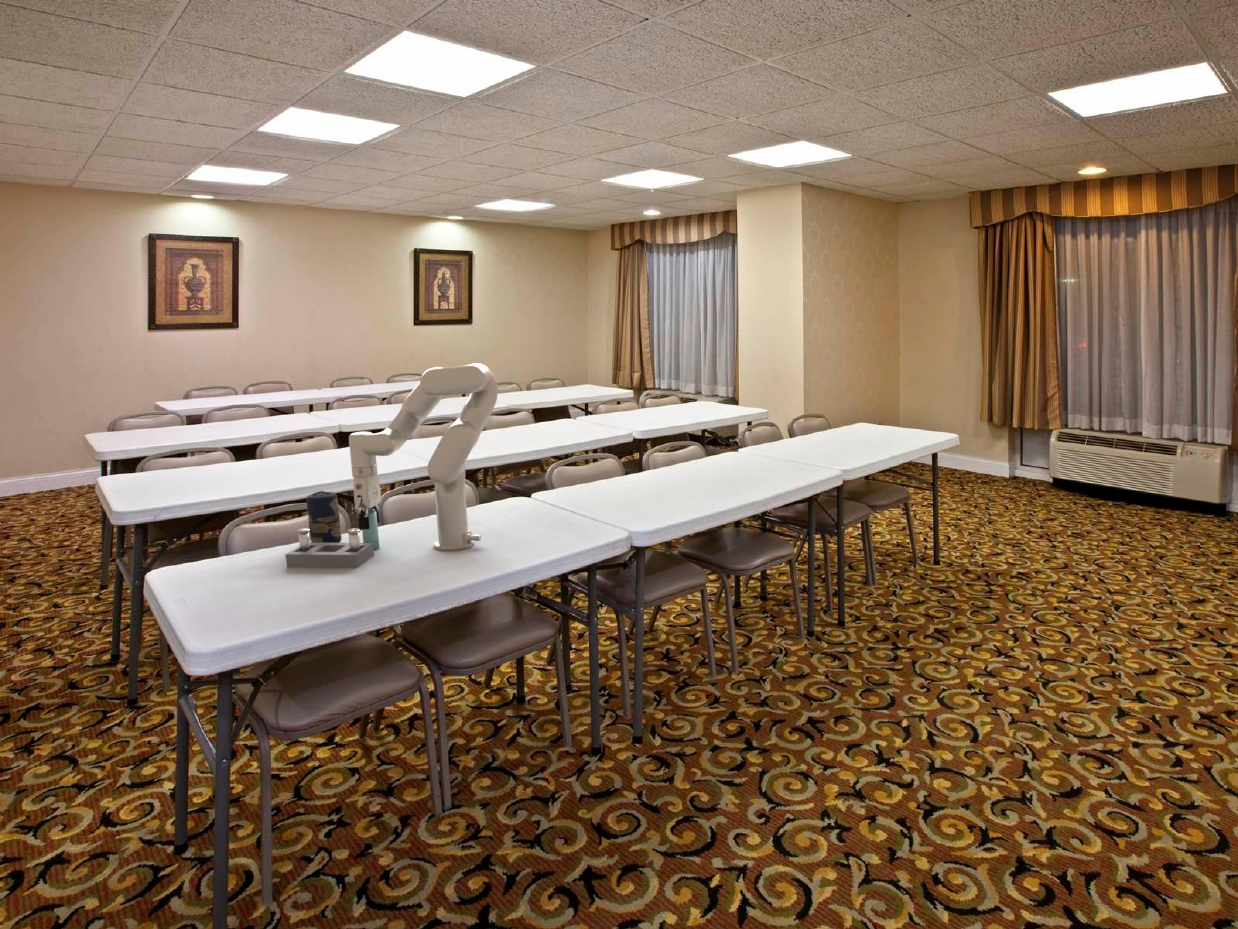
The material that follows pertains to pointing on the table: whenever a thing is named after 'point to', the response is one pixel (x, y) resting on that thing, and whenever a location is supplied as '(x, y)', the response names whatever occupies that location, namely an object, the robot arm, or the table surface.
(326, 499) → the canister
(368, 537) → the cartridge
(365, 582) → the table surface
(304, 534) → the plunger
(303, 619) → the table surface
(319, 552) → the housing
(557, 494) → the table surface
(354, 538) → the plunger
